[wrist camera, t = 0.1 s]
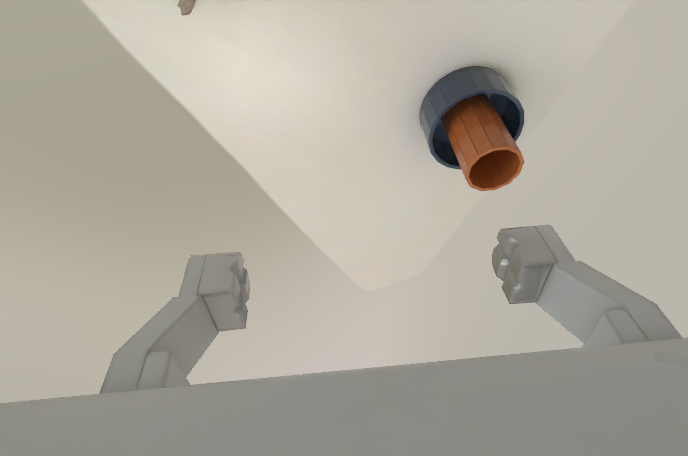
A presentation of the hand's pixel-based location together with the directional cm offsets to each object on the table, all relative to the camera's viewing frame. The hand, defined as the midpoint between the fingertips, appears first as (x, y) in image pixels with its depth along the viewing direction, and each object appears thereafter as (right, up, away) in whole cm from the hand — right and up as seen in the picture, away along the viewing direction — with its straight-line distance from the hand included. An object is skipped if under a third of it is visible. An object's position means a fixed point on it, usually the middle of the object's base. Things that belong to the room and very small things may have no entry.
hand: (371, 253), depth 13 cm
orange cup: (+15, +16, +42) cm, 47 cm away
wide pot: (+15, +17, +42) cm, 48 cm away
